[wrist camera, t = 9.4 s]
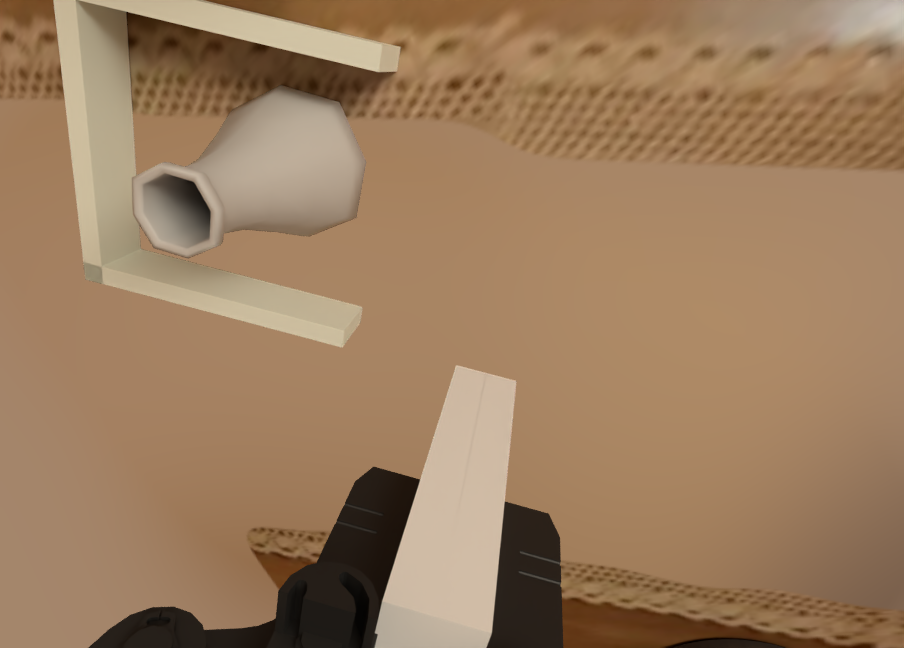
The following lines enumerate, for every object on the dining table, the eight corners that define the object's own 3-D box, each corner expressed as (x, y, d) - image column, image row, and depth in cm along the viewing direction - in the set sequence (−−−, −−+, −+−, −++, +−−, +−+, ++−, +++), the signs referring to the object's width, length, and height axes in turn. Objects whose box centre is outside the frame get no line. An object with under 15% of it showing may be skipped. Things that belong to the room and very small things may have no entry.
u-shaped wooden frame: (360, 322, 30) (342, 347, 27) (125, 260, 31) (85, 279, 28) (400, 47, 24) (382, 44, 21) (103, -24, 24) (49, -35, 22)
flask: (248, 236, 29) (115, 312, 20) (213, 90, 26) (38, 103, 17) (377, 233, 28) (296, 312, 19) (357, 79, 25) (249, 86, 16)
